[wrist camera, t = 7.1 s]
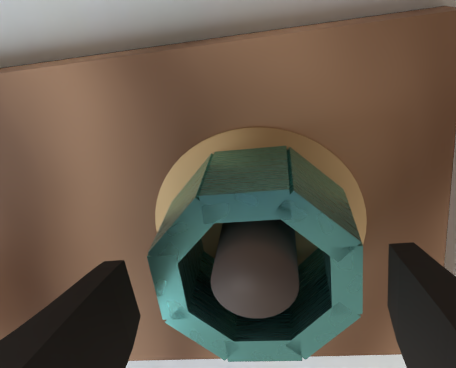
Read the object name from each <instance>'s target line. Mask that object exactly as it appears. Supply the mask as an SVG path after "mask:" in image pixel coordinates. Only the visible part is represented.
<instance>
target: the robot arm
mask: <svg viewBox="0 0 456 368" xmlns="http://www.w3.org/2000/svg"><path fill="white" fill-rule="evenodd" d="M387 306H388V310H389V314H390V318H391V322H392V326H393V329H394V333H395V337H396V340H397V343H398V346H399V349H400V351H401V354H402V356H403V359H404V361H405V364H406V366H407V368H456V277H455V276H454V275H453V274H452V273H450V272H449V271H448V270H447V269H445V268H444V267H443V266H442V265H441V264H439V263H438V262H437V261H436V260H435V259H433V258H432V257H431V256H430V255H429V254H427V253H426V252H425V251H424V250H423V249H421V248H420V247H419V246H418V245H416V244H415V243H414V242H409V243H393V244H389V255H388V304H387ZM140 317H141V315H140V312H139V308H138V305H137V302H136V298H135V295H134V291H133V288H132V285H131V281H130V278H129V274H128V271H127V268H126V264H125V261H124V260H116V261H104V262H102V263H101V264H99V265H98V266H97V267H95V268H94V269H93V270H91V271H90V272H89V273H87V274H86V275H85V276H84V277H82V278H81V279H80V280H79V281H77V282H76V283H75V284H74V285H73V286H71V287H70V288H69V289H68V290H66V291H65V292H64V293H63V294H61V295H60V296H59V297H58V298H56V299H55V300H54V301H53V302H51V303H50V304H49V305H48V306H46V307H45V308H44V309H42V310H41V311H40V312H38V313H37V314H36V315H34V316H33V317H32V318H30V319H29V320H27V321H26V322H25V323H23V324H22V325H21V326H19V327H18V328H17V329H15V330H14V331H13V332H11V333H10V334H8V335H7V336H6V337H4V338H3V339H1V340H0V368H126V365H127V363H128V360H129V357H130V355H131V352H132V349H133V346H134V342H135V338H136V334H137V330H138V325H139V321H140Z"/></svg>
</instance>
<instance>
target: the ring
mask: <svg viewBox="0 0 456 368" xmlns="http://www.w3.org/2000/svg"><path fill="white" fill-rule="evenodd" d="M278 219H281V220H282V221H283V222H285V223H286V224H287V225H289V226H290V227H291V228H293V229H294V230H295V231H297V232H298V233H299V234H301V235H302V236H304V237H305V238H306V239H308V240H309V241H310V242H312V243H313V244H314V245H316V246H317V247H318V248H317V249H316V250H315V251H314V252H313V253H312V254H311V255H310V256H308V257H307V258H306V259H305V260H304V261H303V262H302V263H301V264H300V265H299V266H298V275H299V291H298V294H297V297H296V299H295V301H294V302H293V303H292V305H291V306H290V307H289V308H287V309H286V310H285V311H283V312H281V313H280V314H277V315H275V316H272V317H267V318H247V317H242V316H239V315H237V314H234V313H232V312H231V311H229V310H227V309H226V308H225V307H223V306H222V305H221V304H220V303H219V302H218V300H217V299H216V297H215V296H214V294H213V291H212V288H211V275H212V270H213V265H214V261H215V258H213V257H212V256H210V255H209V254H207V253H206V252H204V249H203V243H202V236H203V235H204V234H205V233H206V232H207V231H208V230H209V229H210V228H211V227H212V225H213V224H214V223H229V222H246V221H262V220H278ZM147 260H148V264H149V268H150V272H151V276H152V279H153V283H154V287H155V291H156V295H157V299H158V303H159V307H160V311H161V315H162V319H163V320H165V323H166V324H168V325H170V326H171V327H173V328H174V329H176V330H177V331H179V332H181V333H182V334H184V335H185V336H187V337H188V338H190V339H192V340H193V341H195V342H196V343H198V344H199V345H201V346H202V347H204V348H206V349H207V350H209V351H210V352H212V353H213V354H215V355H217V356H218V357H220V358H221V359H223V360H224V361H225V360H226V359H227V358H228V362H234V361H302V357H303V358H304V359H307V358H308V357H310V356H311V355H312V354H314V353H315V352H316V351H318V350H319V349H320V348H321V347H323V346H324V345H325V344H327V343H328V342H329V341H331V340H332V339H333V338H334V337H336V336H337V335H338V334H340V333H341V332H342V331H344V330H345V329H346V328H347V327H349V326H350V325H351V324H353V323H354V322H355V321H357V320H358V319H359V318H360V317H361V315H360V314H363V244H362V241H361V238H360V235H359V232H358V229H357V226H356V223H355V221H354V218H353V215H352V212H351V209H350V206H349V203H348V200H347V197H346V194H345V192H344V189H343V188H341V187H340V186H339V185H338V184H336V183H335V182H334V181H333V180H331V179H330V178H329V177H328V176H326V175H325V174H324V173H322V172H321V171H320V170H319V169H317V168H316V167H315V166H314V165H312V164H311V163H310V162H309V161H307V160H306V159H305V158H304V157H302V156H301V155H300V154H298V153H297V152H296V151H295V150H293V149H292V148H291V147H289V148H288V149H286V146H276V147H264V148H253V149H241V150H229V151H218V152H214V155H213V154H212V153H211V155H210V156H209V157H208V158H207V159H206V161H205V162H204V163H203V164H202V165H201V167H200V168H199V169H198V170H197V172H196V173H195V174H194V175H193V176H192V178H191V179H190V180H189V181H188V182H187V184H186V185H185V186H184V187H183V189H182V190H181V191H180V192H179V193H178V195H177V196H176V197H175V198H174V199H173V201H172V202H171V205H170V207H169V209H168V211H167V213H166V215H165V217H164V219H163V222H162V224H161V226H160V228H159V230H158V232H157V234H156V237H155V239H154V241H153V243H152V245H151V247H150V249H149V251H148V255H147Z"/></svg>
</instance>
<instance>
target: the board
mask: <svg viewBox="0 0 456 368" xmlns="http://www.w3.org/2000/svg"><path fill="white" fill-rule="evenodd" d="M455 134H456V7H448V6H442V7H435V8H428V9H420V10H413V11H406V12H399V13H392V14H385V15H378V16H370V17H363V18H356V19H349V20H342V21H335V22H328V23H320V24H313V25H306V26H299V27H292V28H285V29H278V30H271V31H263V32H256V33H249V34H242V35H235V36H228V37H221V38H213V39H206V40H199V41H192V42H185V43H178V44H171V45H164V46H156V47H149V48H142V49H135V50H128V51H121V52H114V53H106V54H99V55H92V56H85V57H78V58H71V59H64V60H57V61H49V62H42V63H35V64H28V65H21V66H14V67H7V68H0V340H1V339H3V338H4V337H6V336H7V335H8V334H10V333H11V332H13V331H14V330H15V329H17V328H18V327H19V326H21V325H22V324H23V323H25V322H26V321H27V320H29V319H30V318H32V317H33V316H34V315H36V314H37V313H38V312H40V311H41V310H42V309H44V308H45V307H46V306H48V305H49V304H50V303H51V302H53V301H54V300H55V299H56V298H58V297H59V296H60V295H61V294H63V293H64V292H65V291H66V290H68V289H69V288H70V287H71V286H73V285H74V284H75V283H76V282H77V281H79V280H80V279H81V278H82V277H84V276H85V275H86V274H87V273H89V272H90V271H91V270H93V269H94V268H95V267H97V266H98V265H99V264H101V263H102V262H104V261H116V260H124V261H125V264H126V268H127V271H128V274H129V278H130V281H131V285H132V288H133V291H134V295H135V298H136V302H137V305H138V308H139V312H140V315H141V317H140V321H139V325H138V330H137V334H136V338H135V342H134V346H133V349H132V352H131V355H130V357H129V360H128V361H138V360H180V359H221V358H220V357H218V356H217V355H215V354H213V353H212V352H210V351H209V350H207V349H206V348H204V347H202V346H201V345H199V344H198V343H196V342H195V341H193V340H192V339H190V338H188V337H187V336H185V335H184V334H182V333H181V332H179V331H177V330H176V329H174V328H173V327H171V326H170V325H168V324H166V323H165V320H163V319H162V315H161V311H160V307H159V303H158V299H157V295H156V291H155V287H154V283H153V279H152V276H151V272H150V268H149V264H148V260H147V255H148V251H149V249H150V247H151V245H152V243H153V241H154V239H155V237H156V234H157V232H158V230H159V228H160V226H161V224H162V222H163V219H164V217H165V215H166V213H167V211H168V209H169V207H170V205H171V202H172V201H173V199H174V198H175V197H176V196H177V195H178V193H179V192H180V191H181V190H182V189H183V187H184V186H185V185H186V184H187V182H188V181H189V180H190V179H191V178H192V176H193V175H194V174H195V173H196V172H197V170H198V169H199V168H200V167H201V165H202V164H203V163H204V162H205V161H206V159H207V158H208V157H209V156H210V155H211V153H212V154H213V155H214V152H218V151H229V150H241V149H253V148H264V147H276V146H286V149H288V148H289V147H291V148H292V149H293V150H295V151H296V152H297V153H298V154H300V155H301V156H302V157H304V158H305V159H306V160H307V161H309V162H310V163H311V164H312V165H314V166H315V167H316V168H317V169H319V170H320V171H321V172H322V173H324V174H325V175H326V176H328V177H329V178H330V179H331V180H333V181H334V182H335V183H336V184H338V185H339V186H340V187H341V188H343V189H344V192H345V194H346V197H347V200H348V203H349V206H350V209H351V212H352V215H353V218H354V221H355V223H356V226H357V229H358V232H359V235H360V238H361V241H362V244H363V314H360V315H361V317H360V318H359V319H358V320H357V321H355V322H354V323H353V324H351V325H350V326H349V327H347V328H346V329H345V330H344V331H342V332H341V333H340V334H338V335H337V336H336V337H334V338H333V339H332V340H331V341H329V342H328V343H327V344H325V345H324V346H323V347H321V348H320V349H319V350H318V351H316V352H315V353H314V354H312V355H311V356H350V355H393V354H401V351H400V349H399V346H398V343H397V340H396V337H395V333H394V329H393V326H392V322H391V318H390V314H389V310H388V306H387V304H388V255H389V244H393V243H409V242H414V243H415V244H416V245H418V246H419V247H420V248H421V249H423V250H424V251H425V252H426V253H427V254H429V255H430V256H431V257H432V258H433V259H435V260H436V261H437V262H438V263H439V264H441V265H442V266H443V267H444V259H445V248H446V236H447V225H448V214H449V202H450V191H451V179H452V168H453V157H454V145H455ZM202 243H203V249H204V252H206V253H207V254H209V255H210V256H212V257H213V258H215V261H214V265H213V270H212V275H211V288H212V291H213V294H214V296H215V297H216V299H217V300H218V302H219V303H220V304H221V305H222V306H223V307H225V308H226V309H227V310H229V311H231V312H232V313H234V314H237V315H239V316H242V317H247V318H267V317H272V316H275V315H277V314H280V313H281V312H283V311H285V310H286V309H287V308H289V307H290V306H291V305H292V303H293V302H294V301H295V299H296V297H297V294H298V291H299V275H298V266H299V265H300V264H301V263H302V262H303V261H304V260H305V259H306V258H307V257H308V256H310V255H311V254H312V253H313V252H314V251H315V250H316V249H317V248H318V247H317V246H316V245H314V244H313V243H312V242H310V241H309V240H308V239H306V238H305V237H304V236H302V235H301V234H299V233H298V232H297V231H295V230H294V229H293V228H291V227H290V226H289V225H287V224H286V223H285V222H283V221H282V220H281V219H278V220H262V221H246V222H229V223H214V224H213V225H212V227H211V228H210V229H209V230H208V231H207V232H206V233H205V234H204V235H203V236H202Z"/></svg>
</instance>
